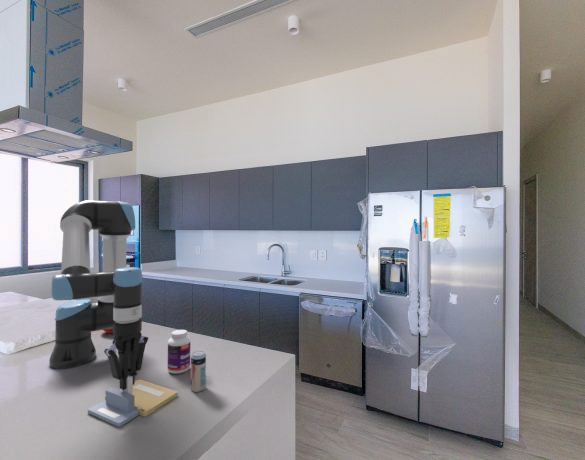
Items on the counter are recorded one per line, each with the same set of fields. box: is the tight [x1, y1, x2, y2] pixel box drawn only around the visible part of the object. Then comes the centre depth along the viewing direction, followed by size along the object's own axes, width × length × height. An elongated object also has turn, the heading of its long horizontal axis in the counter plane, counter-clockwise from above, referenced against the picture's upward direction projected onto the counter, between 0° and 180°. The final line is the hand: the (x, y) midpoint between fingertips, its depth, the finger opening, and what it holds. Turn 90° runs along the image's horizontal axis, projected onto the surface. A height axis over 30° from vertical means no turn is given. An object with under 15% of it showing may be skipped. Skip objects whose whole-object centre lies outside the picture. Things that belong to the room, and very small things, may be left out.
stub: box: [87, 387, 139, 428], centre depth 86 cm, size 14×6×5 cm, turn 65°
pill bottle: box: [167, 329, 191, 375], centre depth 113 cm, size 8×8×14 cm
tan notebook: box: [104, 379, 179, 418], centre depth 94 cm, size 18×12×1 cm, turn 65°
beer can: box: [190, 350, 207, 393], centre depth 100 cm, size 5×5×12 cm
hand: (127, 397), depth 90 cm, fingers closed
